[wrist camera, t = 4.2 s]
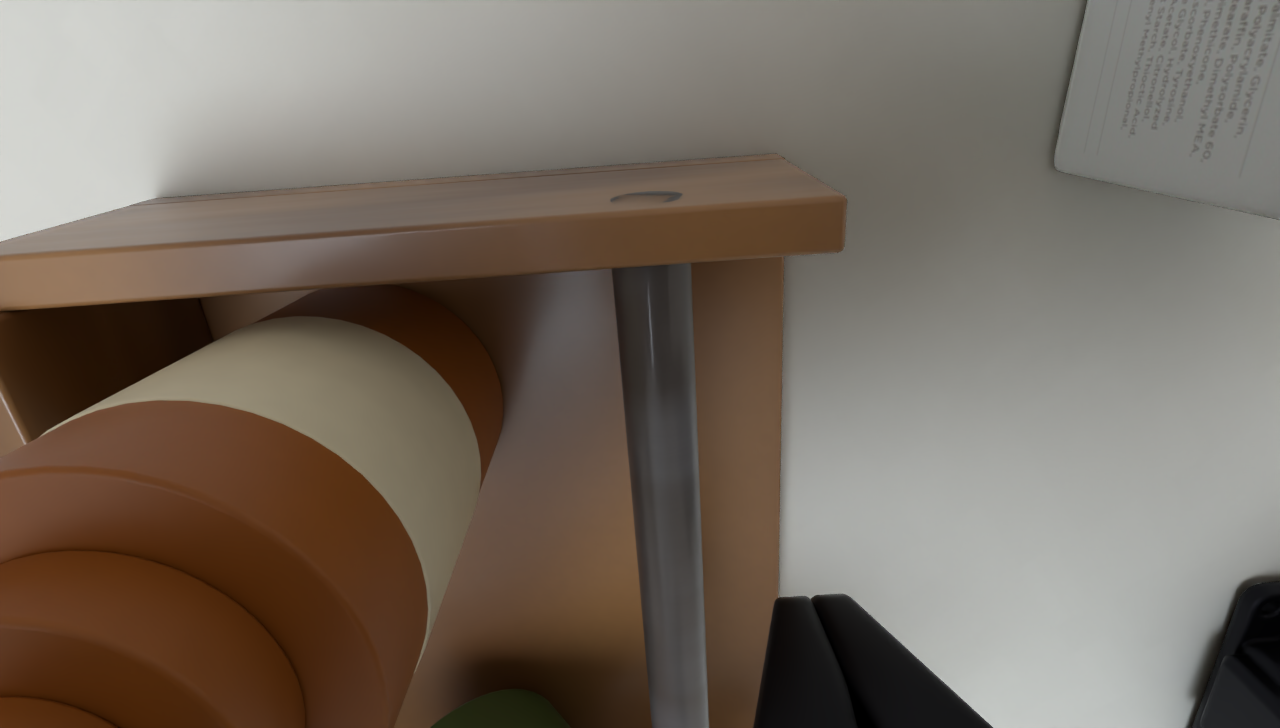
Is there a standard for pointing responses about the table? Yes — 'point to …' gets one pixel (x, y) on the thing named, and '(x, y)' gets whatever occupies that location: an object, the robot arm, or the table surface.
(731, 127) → the table surface
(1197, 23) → the white cardboard box
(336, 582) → the amber bottle
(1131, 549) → the table surface
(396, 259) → the rack
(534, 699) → the green bottle
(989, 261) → the table surface
